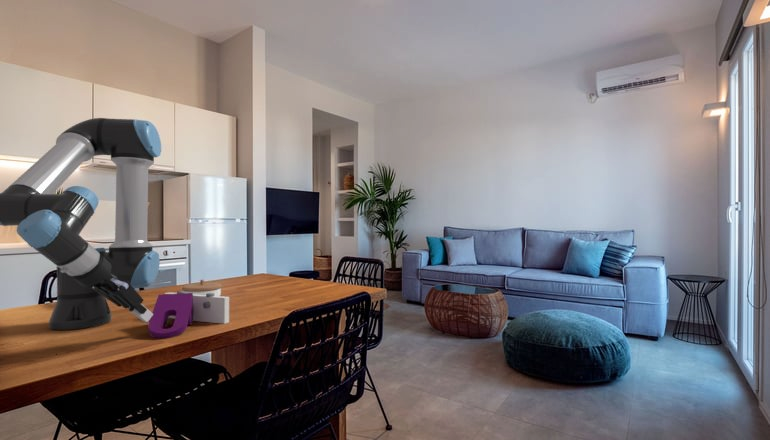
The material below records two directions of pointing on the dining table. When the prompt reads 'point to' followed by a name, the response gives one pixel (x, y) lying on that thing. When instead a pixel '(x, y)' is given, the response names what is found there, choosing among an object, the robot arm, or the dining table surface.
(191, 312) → the mounting bracket
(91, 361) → the dining table surface
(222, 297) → the hinge seat
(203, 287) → the lidded bowl
